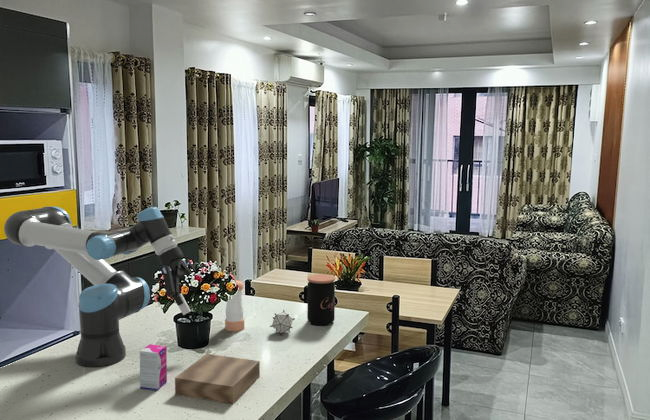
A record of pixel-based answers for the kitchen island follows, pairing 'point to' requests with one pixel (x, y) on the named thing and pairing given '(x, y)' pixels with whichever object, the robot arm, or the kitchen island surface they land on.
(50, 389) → the kitchen island surface
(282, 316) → the spiky geometric ball
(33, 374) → the kitchen island surface
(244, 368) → the block
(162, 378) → the supplement box
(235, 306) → the pepper shaker
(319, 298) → the coffee jar
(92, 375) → the kitchen island surface
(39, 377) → the kitchen island surface
